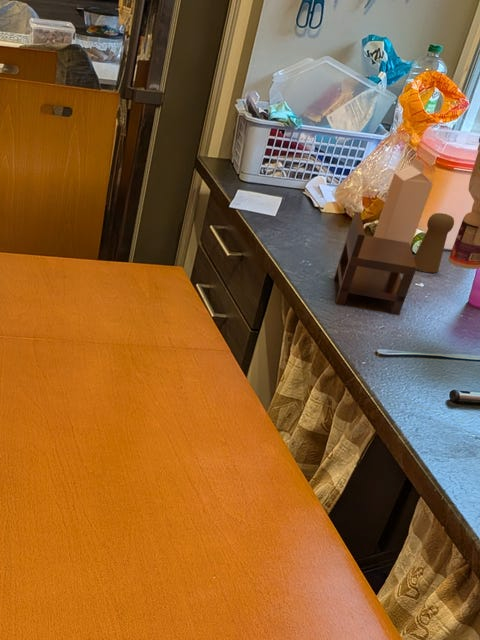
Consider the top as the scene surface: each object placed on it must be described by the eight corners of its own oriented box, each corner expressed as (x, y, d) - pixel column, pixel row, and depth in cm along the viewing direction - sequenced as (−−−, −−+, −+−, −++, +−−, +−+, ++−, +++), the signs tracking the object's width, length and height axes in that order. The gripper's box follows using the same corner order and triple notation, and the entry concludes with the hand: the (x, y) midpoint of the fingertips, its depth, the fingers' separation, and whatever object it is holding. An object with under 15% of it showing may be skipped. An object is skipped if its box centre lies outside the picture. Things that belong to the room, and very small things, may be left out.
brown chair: (392, 288, 190) (416, 221, 182) (398, 315, 178) (425, 245, 170) (333, 277, 192) (354, 211, 183) (335, 304, 180) (358, 234, 171)
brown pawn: (417, 261, 206) (436, 208, 199) (443, 269, 203) (463, 216, 196) (405, 265, 203) (424, 212, 195) (430, 274, 199) (451, 220, 192)
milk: (370, 277, 194) (409, 163, 180) (362, 268, 199) (399, 155, 185) (399, 280, 194) (440, 165, 180) (390, 270, 199) (429, 158, 185)
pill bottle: (452, 256, 155) (475, 194, 149) (485, 264, 153) (510, 201, 147) (443, 263, 152) (467, 200, 146) (477, 272, 150) (502, 208, 143)
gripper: (547, 161, 133) (505, 260, 142) (521, 132, 148) (485, 223, 157) (501, 155, 134) (463, 254, 142) (480, 127, 149) (447, 217, 158)
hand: (474, 237), depth 150 cm, fingers closed on pill bottle, 5 cm apart
